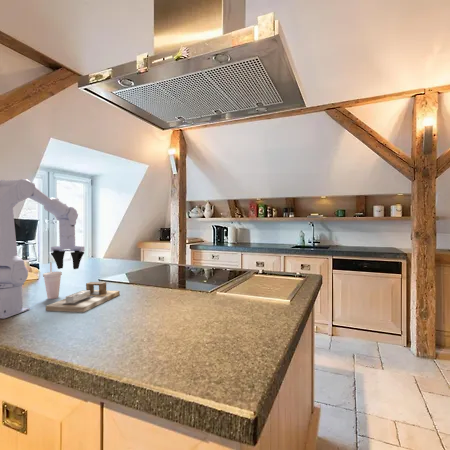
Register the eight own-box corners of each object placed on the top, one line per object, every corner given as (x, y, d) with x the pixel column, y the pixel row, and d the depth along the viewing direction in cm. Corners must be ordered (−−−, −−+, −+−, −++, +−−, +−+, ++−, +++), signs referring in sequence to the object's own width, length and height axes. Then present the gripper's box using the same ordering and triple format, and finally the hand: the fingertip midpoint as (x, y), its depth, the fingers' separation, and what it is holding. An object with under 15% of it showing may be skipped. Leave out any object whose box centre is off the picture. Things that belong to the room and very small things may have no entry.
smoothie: (39, 298, 113) (38, 262, 113) (56, 294, 119) (55, 260, 118) (49, 300, 110) (48, 263, 110) (66, 296, 116) (65, 261, 115)
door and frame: (83, 312, 95) (83, 294, 95) (45, 310, 98) (45, 293, 98) (119, 294, 117) (119, 280, 117) (87, 293, 120) (87, 280, 119)
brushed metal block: (73, 303, 99) (73, 296, 99) (65, 303, 99) (65, 296, 99) (90, 296, 108) (90, 290, 108) (82, 296, 108) (82, 290, 108)
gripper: (89, 235, 124) (89, 267, 124) (59, 235, 127) (60, 266, 127) (77, 236, 117) (78, 270, 117) (46, 236, 120) (47, 269, 120)
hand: (68, 268), depth 122 cm, fingers open, 7 cm apart
